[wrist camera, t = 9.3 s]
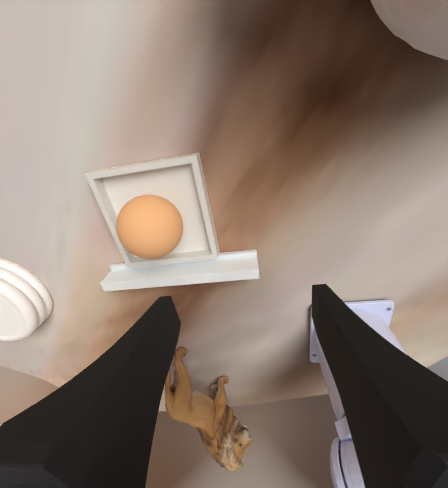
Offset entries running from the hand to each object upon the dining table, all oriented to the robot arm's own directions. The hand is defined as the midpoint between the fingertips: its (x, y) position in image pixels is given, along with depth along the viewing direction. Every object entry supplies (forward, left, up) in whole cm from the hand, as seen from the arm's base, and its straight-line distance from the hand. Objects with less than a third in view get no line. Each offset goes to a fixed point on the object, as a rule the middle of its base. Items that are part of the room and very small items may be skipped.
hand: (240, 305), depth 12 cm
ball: (+2, +7, -10) cm, 12 cm away
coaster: (-5, +28, -10) cm, 30 cm away
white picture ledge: (-4, +7, -10) cm, 12 cm away
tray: (+2, +7, -10) cm, 12 cm away
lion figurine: (-22, +8, -10) cm, 25 cm away
